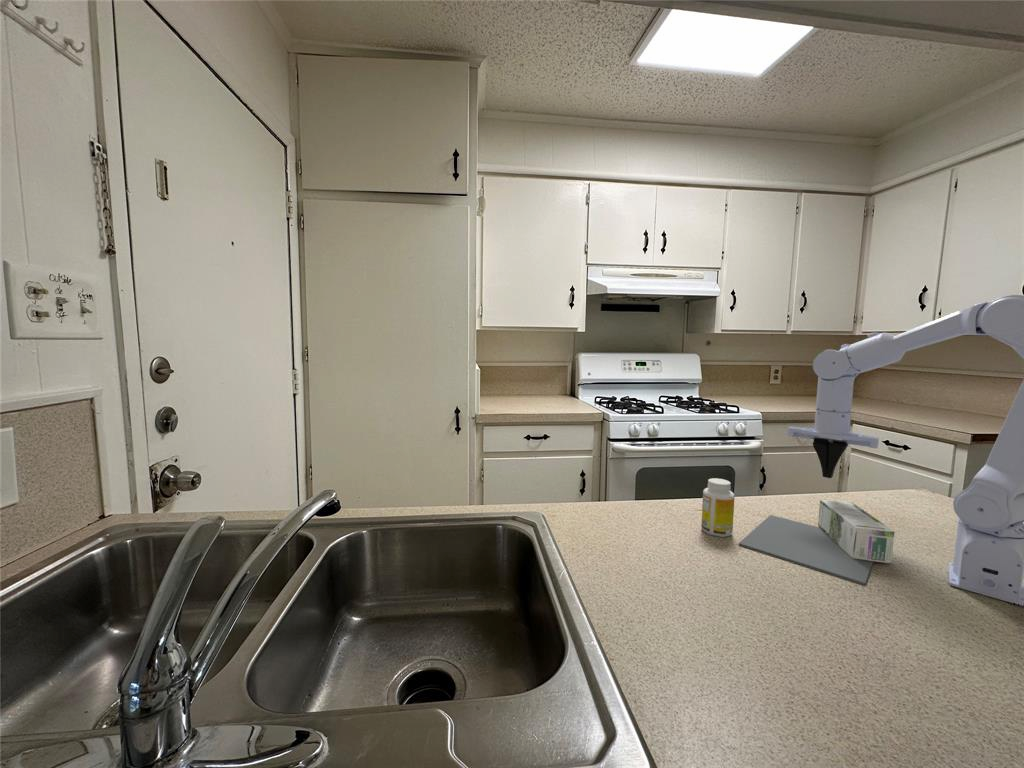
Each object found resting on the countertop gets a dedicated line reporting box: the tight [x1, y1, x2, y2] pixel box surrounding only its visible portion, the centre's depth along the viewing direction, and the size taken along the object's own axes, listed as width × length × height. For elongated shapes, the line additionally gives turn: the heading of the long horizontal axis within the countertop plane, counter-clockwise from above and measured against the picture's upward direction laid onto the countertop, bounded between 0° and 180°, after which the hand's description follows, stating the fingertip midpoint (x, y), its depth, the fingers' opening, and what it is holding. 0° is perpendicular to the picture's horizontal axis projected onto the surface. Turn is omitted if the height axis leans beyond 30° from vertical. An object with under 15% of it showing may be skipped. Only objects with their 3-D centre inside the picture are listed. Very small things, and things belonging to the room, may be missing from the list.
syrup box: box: [817, 499, 896, 564], centre depth 79 cm, size 6×6×14 cm
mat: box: [738, 514, 875, 586], centre depth 79 cm, size 20×18×1 cm
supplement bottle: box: [701, 477, 735, 538], centre depth 83 cm, size 6×6×10 cm
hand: (827, 476), depth 87 cm, fingers closed
